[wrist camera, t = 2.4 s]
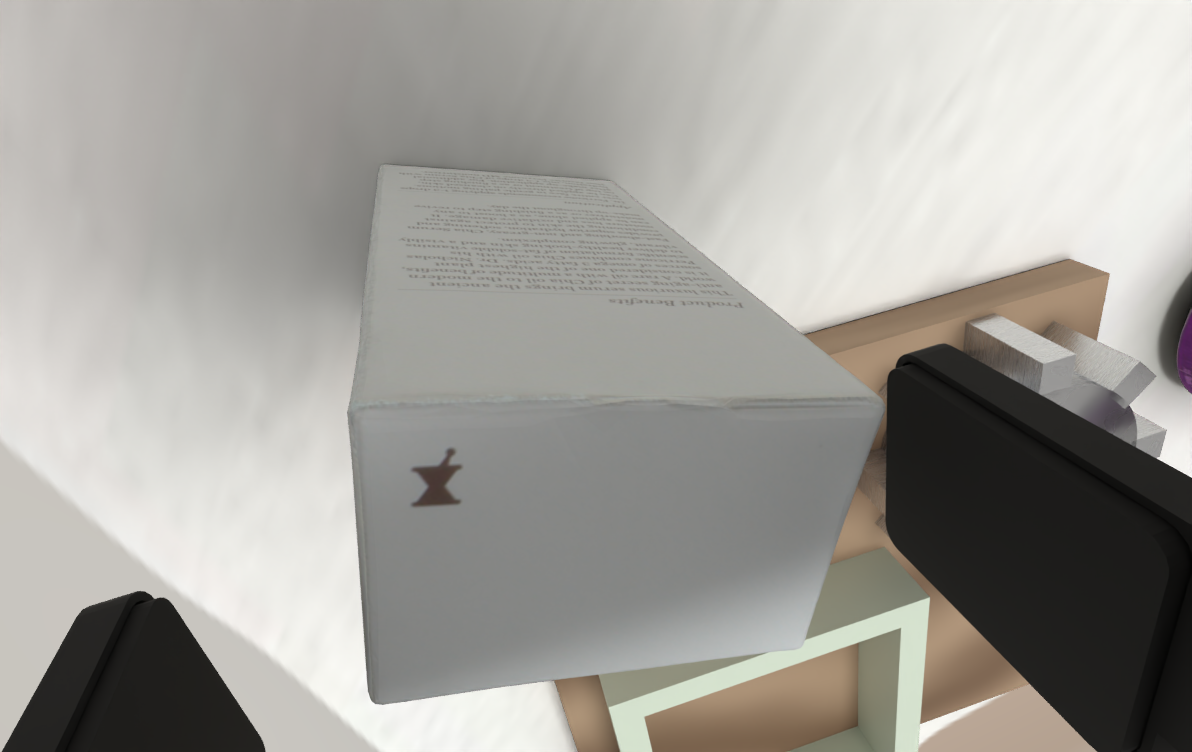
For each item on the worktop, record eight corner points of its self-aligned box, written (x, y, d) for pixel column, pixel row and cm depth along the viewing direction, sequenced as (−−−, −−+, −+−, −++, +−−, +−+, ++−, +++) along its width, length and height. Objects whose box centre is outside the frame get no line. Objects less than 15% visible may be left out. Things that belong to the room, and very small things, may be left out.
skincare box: (381, 325, 18) (350, 719, 8) (378, 159, 17) (332, 397, 6) (602, 328, 20) (811, 662, 10) (621, 177, 18) (904, 390, 8)
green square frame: (590, 644, 24) (608, 707, 21) (884, 546, 25) (930, 597, 23) (638, 820, 29) (657, 884, 27) (878, 732, 30) (914, 787, 28)
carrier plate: (476, 428, 21) (481, 456, 19) (1069, 258, 23) (1109, 273, 22) (597, 803, 30) (606, 838, 29) (1004, 657, 33) (1029, 683, 31)
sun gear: (851, 354, 21) (935, 418, 17) (1103, 281, 22) (1227, 328, 18) (851, 563, 25) (918, 646, 22) (1062, 494, 26) (1157, 563, 23)
